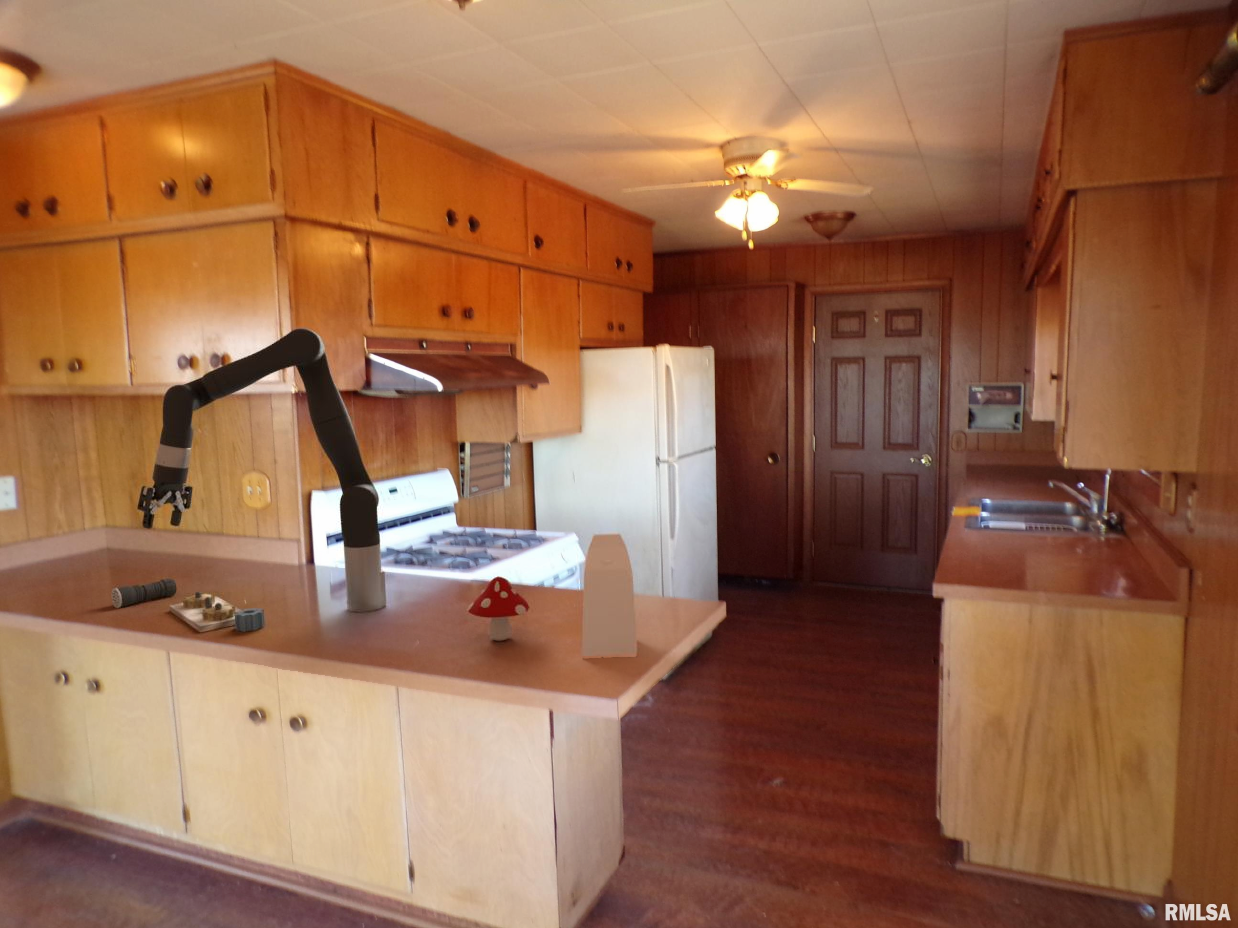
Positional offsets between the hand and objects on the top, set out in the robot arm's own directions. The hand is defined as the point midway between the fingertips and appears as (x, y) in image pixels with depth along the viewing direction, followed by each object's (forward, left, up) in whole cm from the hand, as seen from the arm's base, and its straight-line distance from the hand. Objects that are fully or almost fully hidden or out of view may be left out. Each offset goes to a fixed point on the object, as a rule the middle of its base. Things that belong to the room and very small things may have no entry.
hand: (161, 526), depth 205 cm
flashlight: (-1, -28, -25) cm, 38 cm away
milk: (-64, +95, -25) cm, 118 cm away
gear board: (-9, +1, -25) cm, 26 cm away
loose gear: (-13, +19, -25) cm, 34 cm away
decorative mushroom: (-51, +72, -25) cm, 92 cm away
